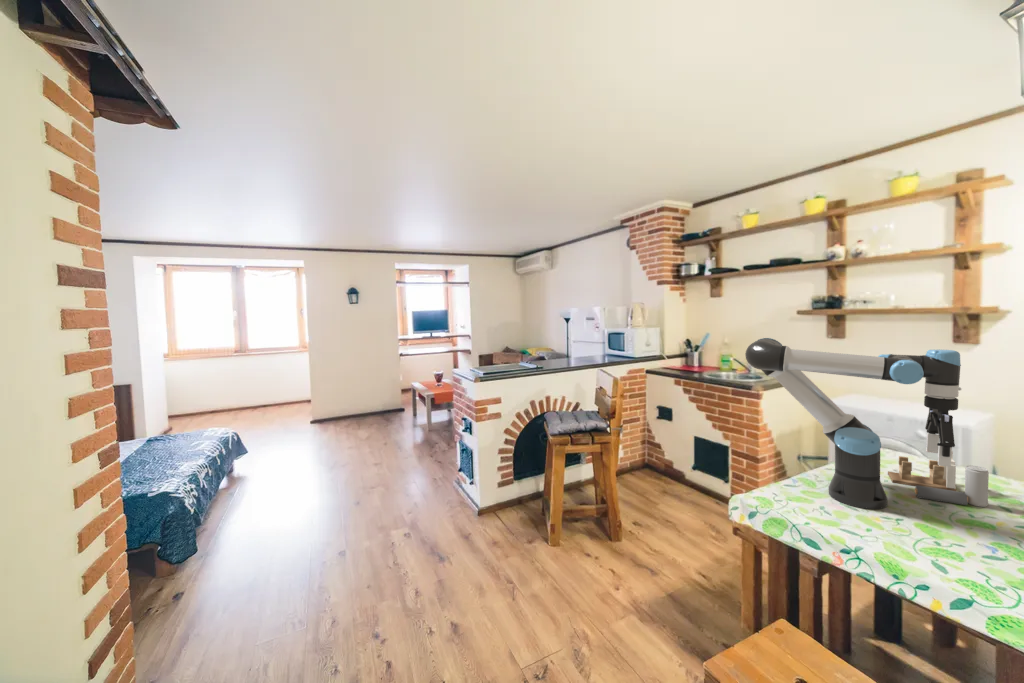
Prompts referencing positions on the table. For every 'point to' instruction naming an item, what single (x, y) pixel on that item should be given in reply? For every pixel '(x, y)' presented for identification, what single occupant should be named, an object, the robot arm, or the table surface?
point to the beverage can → (976, 485)
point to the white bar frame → (950, 474)
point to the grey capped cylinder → (941, 495)
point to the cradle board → (908, 479)
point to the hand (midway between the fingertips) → (937, 458)
